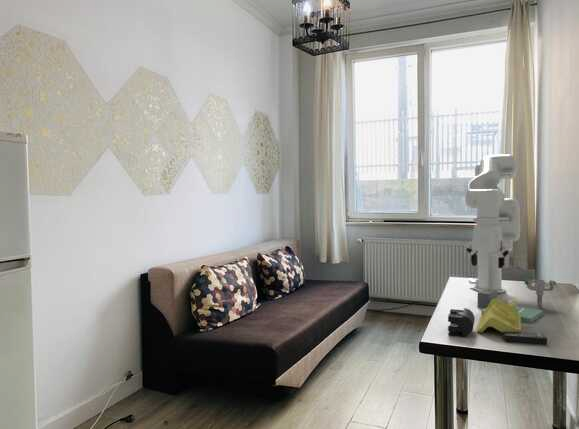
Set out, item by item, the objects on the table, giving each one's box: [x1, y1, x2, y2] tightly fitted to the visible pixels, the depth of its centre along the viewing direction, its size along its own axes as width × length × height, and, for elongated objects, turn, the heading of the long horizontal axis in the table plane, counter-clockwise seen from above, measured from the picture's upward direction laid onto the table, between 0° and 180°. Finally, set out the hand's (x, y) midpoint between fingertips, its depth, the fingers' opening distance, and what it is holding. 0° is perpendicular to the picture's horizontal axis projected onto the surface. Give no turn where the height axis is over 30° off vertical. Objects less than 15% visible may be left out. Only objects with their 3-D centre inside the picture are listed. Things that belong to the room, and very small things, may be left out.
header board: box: [480, 298, 544, 324], centre depth 155 cm, size 16×14×5 cm
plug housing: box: [477, 289, 498, 309], centre depth 167 cm, size 4×8×6 cm, turn 136°
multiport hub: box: [501, 331, 548, 346], centre depth 127 cm, size 4×11×2 cm, turn 75°
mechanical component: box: [524, 278, 557, 308], centre depth 166 cm, size 3×10×10 cm, turn 78°
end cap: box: [447, 307, 475, 338], centre depth 135 cm, size 10×7×7 cm
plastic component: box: [476, 298, 522, 334], centre depth 140 cm, size 20×7×10 cm
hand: (487, 266), depth 167 cm, fingers open, 9 cm apart
